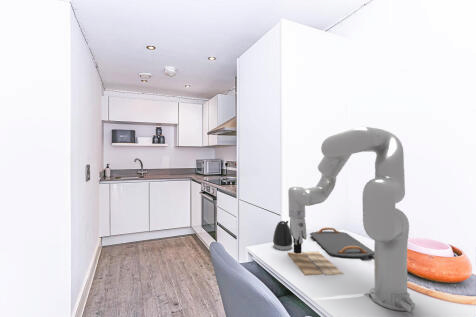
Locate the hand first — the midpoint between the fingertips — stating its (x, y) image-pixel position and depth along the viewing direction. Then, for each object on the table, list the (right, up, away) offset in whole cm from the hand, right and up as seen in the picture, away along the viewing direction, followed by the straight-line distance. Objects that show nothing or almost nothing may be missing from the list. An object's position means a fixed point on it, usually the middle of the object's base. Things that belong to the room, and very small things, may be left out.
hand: (297, 252), depth 113 cm
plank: (+2, -4, -4) cm, 6 cm away
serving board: (+28, -5, +20) cm, 34 cm away
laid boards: (+10, -5, -3) cm, 11 cm away
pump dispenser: (-4, -5, +16) cm, 17 cm away
